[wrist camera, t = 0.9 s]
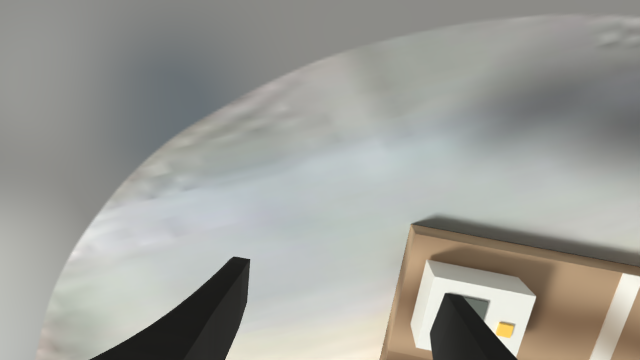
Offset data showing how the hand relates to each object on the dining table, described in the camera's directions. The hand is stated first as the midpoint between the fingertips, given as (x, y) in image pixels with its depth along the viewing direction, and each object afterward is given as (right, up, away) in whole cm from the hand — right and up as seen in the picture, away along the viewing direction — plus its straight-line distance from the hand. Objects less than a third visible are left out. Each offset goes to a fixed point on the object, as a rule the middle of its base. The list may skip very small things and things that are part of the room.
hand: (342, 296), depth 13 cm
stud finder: (+9, -4, +11) cm, 15 cm away
